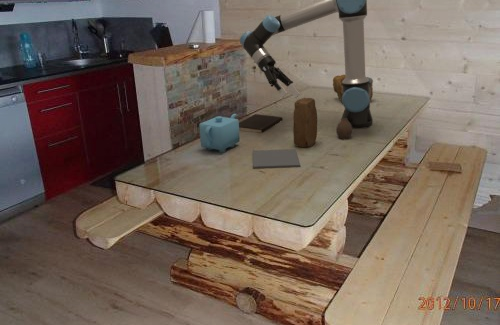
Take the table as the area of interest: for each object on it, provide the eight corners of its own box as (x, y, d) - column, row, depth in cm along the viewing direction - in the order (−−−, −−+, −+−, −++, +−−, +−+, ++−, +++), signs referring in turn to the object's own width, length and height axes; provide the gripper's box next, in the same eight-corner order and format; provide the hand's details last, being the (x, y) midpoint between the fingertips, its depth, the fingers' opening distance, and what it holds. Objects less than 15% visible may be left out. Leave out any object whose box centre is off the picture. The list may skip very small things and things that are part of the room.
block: (306, 149, 189) (306, 102, 182) (291, 146, 193) (291, 100, 186) (319, 142, 197) (320, 97, 190) (304, 139, 201) (305, 95, 194)
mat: (295, 150, 188) (295, 148, 187) (300, 166, 171) (300, 164, 171) (252, 152, 188) (252, 150, 188) (253, 168, 171) (253, 166, 171)
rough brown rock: (327, 106, 258) (328, 80, 251) (333, 97, 271) (334, 72, 265) (368, 109, 249) (370, 83, 243) (372, 100, 263) (374, 75, 256)
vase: (352, 135, 203) (353, 117, 200) (350, 140, 197) (351, 121, 194) (337, 134, 205) (338, 116, 202) (335, 139, 199) (335, 120, 196)
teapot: (218, 156, 185) (215, 124, 180) (197, 152, 191) (194, 120, 186) (247, 141, 202) (246, 111, 197) (227, 137, 208) (225, 108, 203)
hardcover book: (233, 130, 220) (232, 125, 219) (255, 118, 239) (255, 114, 238) (262, 134, 213) (261, 129, 212) (282, 121, 231) (282, 117, 230)
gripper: (270, 68, 217) (297, 101, 212) (244, 64, 195) (273, 100, 190) (281, 57, 213) (308, 90, 209) (256, 51, 192) (285, 88, 187)
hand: (291, 95), depth 199 cm, fingers open, 13 cm apart
